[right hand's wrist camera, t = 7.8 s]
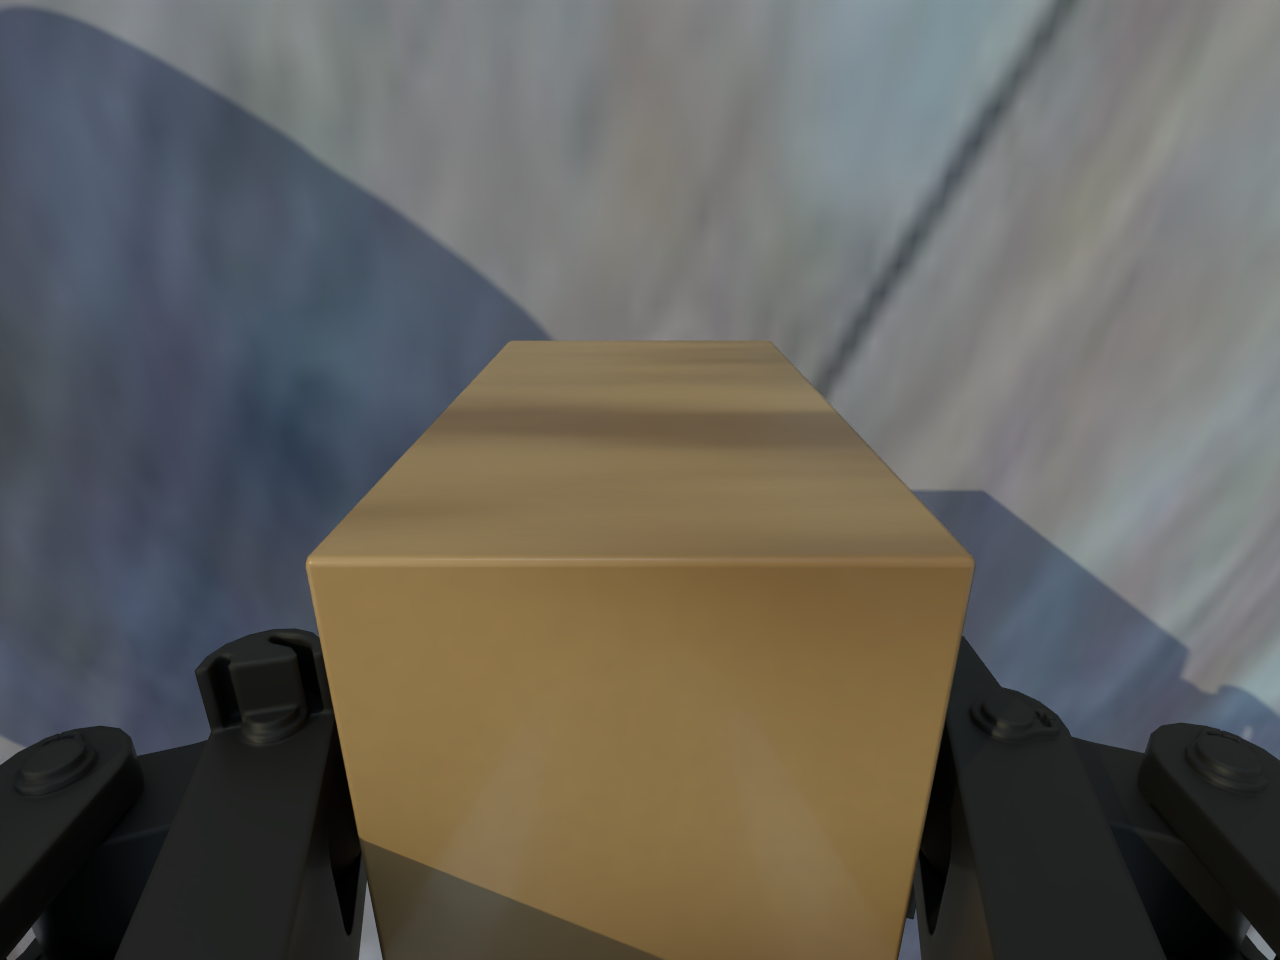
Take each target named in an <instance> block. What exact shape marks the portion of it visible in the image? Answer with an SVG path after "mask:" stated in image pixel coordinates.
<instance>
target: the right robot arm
mask: <svg viewBox="0 0 1280 960" xmlns="http://www.w3.org/2000/svg"><path fill="white" fill-rule="evenodd" d="M195 674H196V678H197V681H198V685H199V689H200V692H201V696H202V699H203V703H204V706H205V710H206V714H207V717H208V721H209V724H210V728H211V734H210V736H209V738H208V740H206V741H203V742H199V743H195V744H192V745H187V746H183V747H178V748H173V749H169V750H164V751H159V752H155V753H150V754H145V755H141V756H137V755H136V752H135V749H134V746H133V743H132V740H131V737H130V736H129V735H127V734H126V733H125V732H124V731H122V730H121V729H120V728H113V727H106V726H95V727H87V728H79V729H74V730H70V731H66V732H62V733H61V734H56V735H53V736H51V737H48V738H45V739H43V740H41V741H40V742H38V743H36V744H34V745H32V746H30V747H28V748H26V749H24V750H22V751H20V752H18V753H17V754H15V755H14V756H12V757H11V758H10V759H8V760H7V761H6V762H4V763H3V764H1V765H0V960H7V959H6V957H7V956H8V955H9V954H10V953H11V951H12V950H13V949H14V948H15V946H16V945H17V944H18V943H19V942H20V940H21V939H22V938H23V937H24V935H25V934H26V933H27V932H28V931H29V929H30V928H31V927H32V929H33V932H34V934H35V936H36V937H35V939H34V940H33V941H32V942H31V944H30V945H29V946H28V947H27V949H26V950H25V951H24V952H23V953H22V954H21V955H20V956H19V957H18V958H17V959H16V960H359V951H360V941H361V932H362V922H363V912H364V903H365V893H366V884H367V876H366V871H365V866H364V861H363V856H362V851H361V846H360V841H359V836H358V831H357V825H356V820H355V815H354V810H353V805H352V800H351V795H350V790H349V785H348V780H347V775H346V769H345V764H344V759H343V754H342V749H341V744H340V739H339V734H338V729H337V724H336V718H335V713H334V708H333V703H332V698H331V693H330V688H329V683H328V678H327V673H326V667H325V662H324V657H323V652H322V647H321V642H320V638H319V637H318V636H316V635H315V634H314V633H313V632H308V631H304V630H299V629H273V630H268V631H264V632H259V633H255V634H250V635H247V636H245V637H242V638H240V639H237V640H235V641H233V642H230V643H228V644H225V645H224V646H222V647H221V648H219V649H218V650H216V651H215V652H213V653H212V654H210V655H209V656H207V657H206V658H205V659H204V661H203V662H202V663H201V664H200V665H199V666H198V668H197V669H196V670H195ZM915 909H916V911H917V920H918V930H919V939H920V949H921V958H922V960H1268V959H1267V958H1266V957H1265V956H1264V955H1263V954H1262V953H1261V952H1260V951H1259V950H1258V949H1257V948H1256V946H1255V945H1254V944H1253V943H1252V941H1251V940H1250V939H1249V938H1248V936H1247V935H1246V933H1247V931H1248V929H1249V927H1250V924H1251V925H1252V926H1253V927H1254V928H1255V929H1256V931H1257V932H1258V933H1259V934H1260V935H1261V937H1262V938H1263V939H1264V940H1265V942H1266V943H1267V944H1268V945H1269V946H1270V948H1271V949H1272V950H1273V951H1274V952H1275V954H1276V956H1275V958H1274V960H1280V761H1279V760H1278V759H1277V758H1275V757H1274V756H1272V755H1271V754H1270V753H1268V752H1267V751H1266V750H1264V749H1262V748H1260V747H1258V746H1256V745H1254V744H1252V743H1250V742H1248V741H1246V740H1244V739H1242V738H1241V737H1239V736H1237V735H1234V734H1231V733H1229V732H1226V731H1221V730H1220V729H1216V728H1212V727H1208V726H1202V725H1195V724H1187V723H1176V724H1169V725H1162V726H1161V727H1159V728H1158V729H1157V730H1155V731H1154V732H1153V733H1152V734H1151V736H1150V739H1149V742H1148V745H1147V748H1146V751H1145V753H1140V752H1135V751H1131V750H1126V749H1121V748H1117V747H1112V746H1107V745H1103V744H1098V743H1093V742H1089V741H1085V740H1082V739H1078V738H1074V737H1071V735H1070V732H1069V730H1068V729H1067V728H1066V726H1065V725H1064V723H1063V722H1062V721H1061V719H1060V718H1059V716H1058V715H1057V714H1055V713H1054V712H1053V711H1051V710H1050V709H1049V708H1047V707H1046V706H1045V705H1043V704H1042V703H1041V702H1039V701H1037V700H1035V699H1033V698H1031V697H1029V696H1027V695H1024V694H1022V693H1020V692H1018V691H1015V690H1011V689H1007V688H1003V687H1001V686H1000V685H999V683H998V682H997V681H996V679H995V678H994V677H993V675H992V674H991V673H990V671H989V670H988V669H987V667H986V666H985V664H984V663H983V662H982V660H981V659H980V658H979V656H978V655H977V654H976V652H975V651H974V650H973V648H972V647H971V646H970V644H969V643H968V642H967V640H966V639H965V638H964V636H962V637H961V642H960V647H959V652H958V657H957V662H956V668H955V673H954V678H953V683H952V688H951V693H950V698H949V703H948V708H947V713H946V718H945V723H944V728H943V734H942V739H941V744H940V749H939V754H938V759H937V764H936V769H935V774H934V779H933V784H932V789H931V794H930V799H929V805H928V810H927V815H926V820H925V825H924V830H923V835H922V840H921V845H920V850H919V855H918V860H917V865H916V870H915V876H914V881H913V886H912V891H911V896H910V901H909V906H908V911H907V916H906V918H910V919H914V914H915Z"/></svg>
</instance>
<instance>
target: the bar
mask: <svg viewBox="0 0 1280 960" xmlns="http://www.w3.org/2000/svg"><path fill="white" fill-rule="evenodd" d="M306 571H307V576H308V581H309V586H310V591H311V596H312V601H313V606H314V611H315V617H316V622H317V627H318V632H319V637H320V642H321V647H322V652H323V657H324V662H325V667H326V673H327V678H328V683H329V688H330V693H331V698H332V703H333V708H334V713H335V718H336V724H337V729H338V734H339V739H340V744H341V749H342V754H343V759H344V764H345V769H346V775H347V780H348V785H349V790H350V795H351V800H352V805H353V810H354V815H355V820H356V825H357V831H358V836H359V841H360V846H361V851H362V856H363V861H364V866H365V871H366V876H367V882H368V887H369V892H370V897H371V902H372V907H373V912H374V917H375V922H376V927H377V932H378V938H379V943H380V948H381V953H382V958H383V960H898V957H899V952H900V947H901V942H902V936H903V931H904V926H905V921H906V916H907V911H908V906H909V901H910V896H911V891H912V886H913V881H914V876H915V870H916V865H917V860H918V855H919V850H920V845H921V840H922V835H923V830H924V825H925V820H926V815H927V810H928V805H929V799H930V794H931V789H932V784H933V779H934V774H935V769H936V764H937V759H938V754H939V749H940V744H941V739H942V734H943V728H944V723H945V718H946V713H947V708H948V703H949V698H950V693H951V688H952V683H953V678H954V673H955V668H956V662H957V657H958V652H959V647H960V642H961V637H962V632H963V627H964V622H965V617H966V612H967V607H968V602H969V597H970V591H971V586H972V581H973V576H974V571H975V561H974V557H973V556H972V555H971V554H970V553H969V552H968V551H967V550H966V549H965V548H964V546H963V545H962V544H961V543H960V542H959V541H958V540H957V539H956V538H955V537H954V536H953V535H952V534H951V533H950V532H949V530H948V529H947V528H946V527H945V526H944V525H943V524H942V523H941V522H940V521H939V520H938V519H937V518H936V517H935V516H934V514H933V513H932V512H931V511H930V510H929V509H928V508H927V507H926V506H925V505H924V504H923V503H922V502H921V501H920V500H919V498H918V497H917V496H916V495H915V494H914V493H913V492H912V491H911V490H910V489H909V488H908V487H907V486H906V485H905V484H904V482H903V481H902V480H901V479H900V478H899V477H898V476H897V475H896V474H895V473H894V472H893V471H892V470H891V469H890V468H889V466H888V465H887V464H886V463H885V462H884V461H883V460H882V459H881V458H880V457H879V456H878V455H877V454H876V453H875V452H874V451H873V449H872V448H871V447H870V446H869V445H868V444H867V443H866V442H865V441H864V440H863V439H862V438H861V437H860V436H859V435H858V433H857V432H856V431H855V430H854V429H853V428H852V427H851V426H850V425H849V424H848V423H847V422H846V421H845V420H844V419H843V417H842V416H841V415H840V414H839V413H838V412H837V411H836V410H835V409H834V408H833V407H832V406H831V405H830V404H829V403H828V401H827V400H826V399H825V398H824V397H823V396H822V395H821V394H820V393H819V392H818V391H817V390H816V389H815V388H814V387H813V385H812V384H811V383H810V382H809V381H808V380H807V379H806V378H805V377H804V376H803V375H802V374H801V373H800V372H799V371H798V369H797V368H796V367H795V366H794V365H793V364H792V363H791V362H790V361H789V360H788V359H787V358H786V357H785V356H784V355H783V353H782V352H781V351H780V350H779V349H778V348H777V347H776V346H775V345H774V344H773V343H772V342H771V341H510V342H508V343H507V344H506V345H505V346H504V348H503V349H502V350H501V351H500V352H499V353H498V354H497V355H496V356H495V357H494V358H493V359H492V360H491V361H490V362H489V364H488V365H487V366H486V367H485V368H484V369H483V370H482V371H481V372H480V373H479V374H478V375H477V376H476V377H475V379H474V380H473V381H472V382H471V383H470V384H469V385H468V386H467V387H466V388H465V389H464V390H463V391H462V392H461V394H460V395H459V396H458V397H457V398H456V399H455V400H454V401H453V402H452V403H451V404H450V405H449V406H448V407H447V408H446V410H445V411H444V412H443V413H442V414H441V415H440V416H439V417H438V418H437V419H436V420H435V421H434V422H433V423H432V425H431V426H430V427H429V428H428V429H427V430H426V431H425V432H424V433H423V434H422V435H421V436H420V437H419V438H418V440H417V441H416V442H415V443H414V444H413V445H412V446H411V447H410V448H409V449H408V450H407V451H406V452H405V453H404V454H403V456H402V457H401V458H400V459H399V460H398V461H397V462H396V463H395V464H394V465H393V466H392V467H391V468H390V469H389V471H388V472H387V473H386V474H385V475H384V476H383V477H382V478H381V479H380V480H379V481H378V482H377V483H376V484H375V485H374V487H373V488H372V489H371V490H370V491H369V492H368V493H367V494H366V495H365V496H364V497H363V498H362V499H361V500H360V502H359V503H358V504H357V505H356V506H355V507H354V508H353V509H352V510H351V511H350V512H349V513H348V514H347V515H346V517H345V518H344V519H343V520H342V521H341V522H340V523H339V524H338V525H337V526H336V527H335V528H334V529H333V530H332V531H331V533H330V534H329V535H328V536H327V537H326V538H325V539H324V540H323V541H322V542H321V543H320V544H319V545H318V546H317V548H316V549H315V550H314V551H313V552H312V553H311V554H310V555H309V556H308V557H307V561H306Z"/></svg>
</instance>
